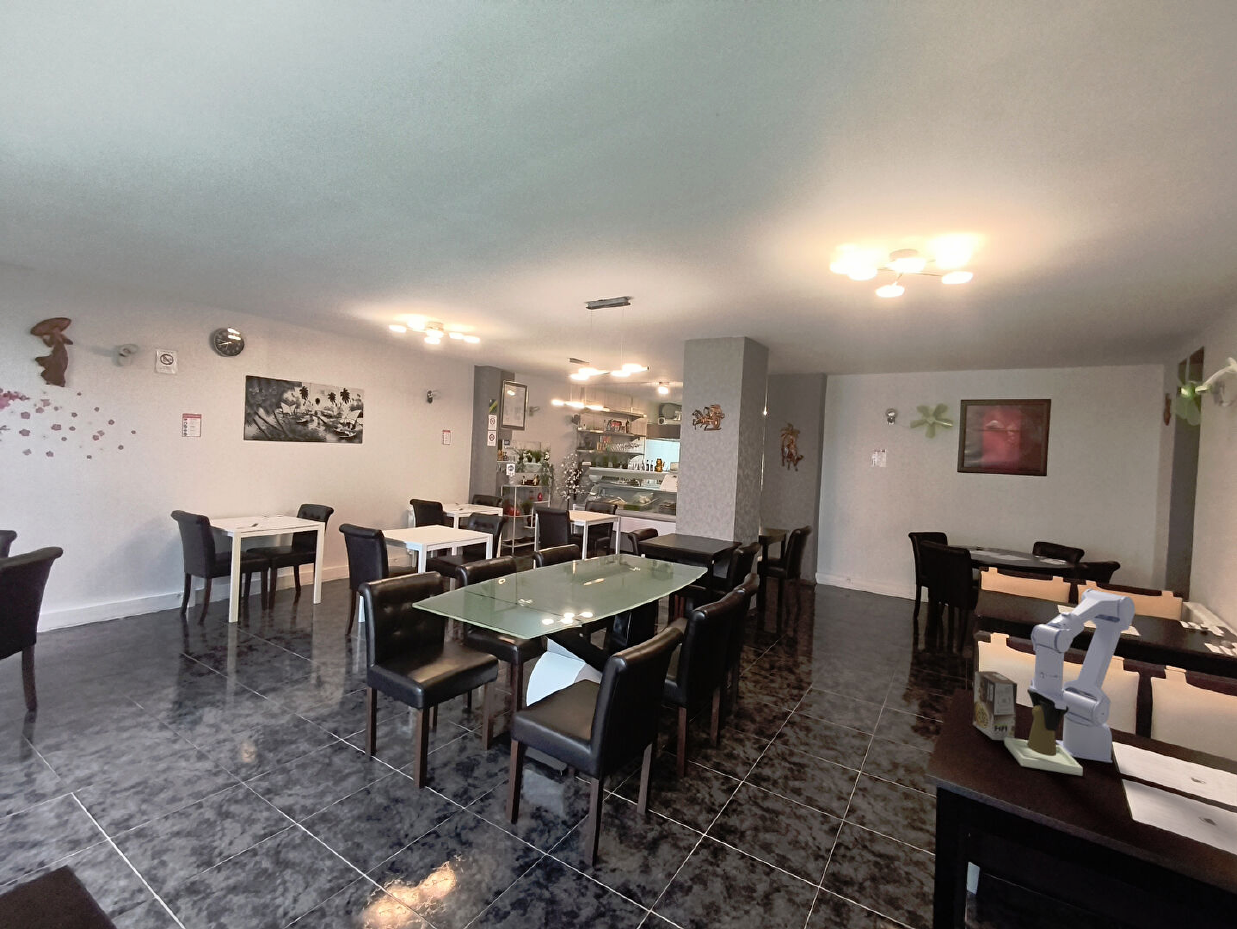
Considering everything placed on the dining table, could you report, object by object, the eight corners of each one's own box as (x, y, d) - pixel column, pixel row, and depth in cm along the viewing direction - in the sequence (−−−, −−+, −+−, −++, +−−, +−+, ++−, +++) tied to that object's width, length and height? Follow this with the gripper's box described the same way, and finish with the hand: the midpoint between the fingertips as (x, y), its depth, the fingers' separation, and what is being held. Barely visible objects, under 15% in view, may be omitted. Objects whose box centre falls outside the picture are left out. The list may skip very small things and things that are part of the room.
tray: (1060, 752, 147) (1060, 745, 147) (1082, 775, 136) (1082, 767, 136) (1004, 744, 150) (1004, 736, 150) (1021, 765, 140) (1021, 758, 140)
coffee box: (1015, 741, 152) (1018, 683, 152) (992, 740, 152) (995, 682, 152) (993, 725, 161) (996, 670, 161) (971, 724, 161) (974, 669, 161)
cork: (1062, 757, 138) (1066, 714, 138) (1036, 754, 139) (1040, 711, 139) (1046, 744, 144) (1050, 703, 144) (1021, 741, 145) (1025, 701, 145)
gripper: (1018, 660, 149) (1016, 709, 150) (1043, 681, 135) (1040, 735, 136) (1049, 664, 147) (1046, 714, 148) (1077, 685, 133) (1074, 740, 134)
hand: (1045, 724), depth 141 cm, fingers closed on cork, 5 cm apart
